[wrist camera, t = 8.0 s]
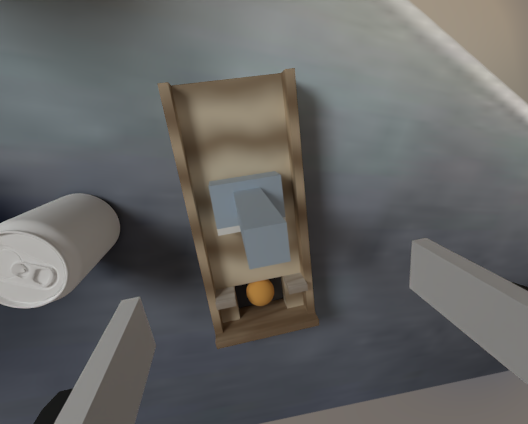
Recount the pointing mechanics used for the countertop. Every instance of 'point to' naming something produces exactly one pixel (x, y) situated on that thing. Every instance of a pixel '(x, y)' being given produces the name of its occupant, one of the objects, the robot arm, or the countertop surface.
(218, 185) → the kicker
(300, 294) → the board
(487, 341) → the robot arm
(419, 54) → the countertop surface
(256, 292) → the ball
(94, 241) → the beverage can
